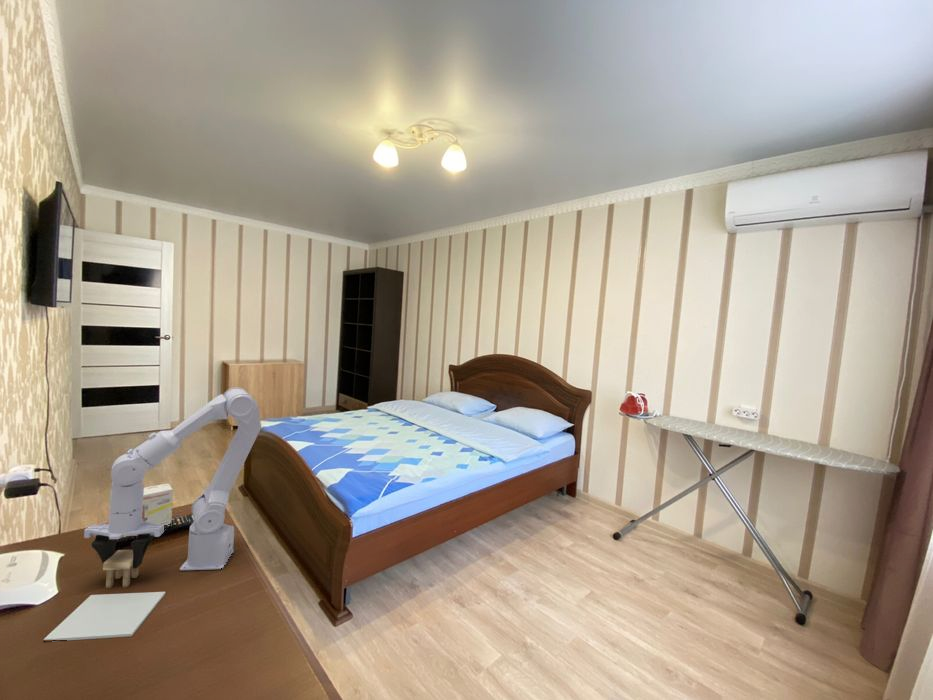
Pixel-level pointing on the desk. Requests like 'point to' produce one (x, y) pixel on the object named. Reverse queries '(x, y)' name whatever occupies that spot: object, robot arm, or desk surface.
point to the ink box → (157, 504)
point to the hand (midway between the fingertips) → (123, 566)
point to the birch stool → (120, 567)
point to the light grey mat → (107, 616)
